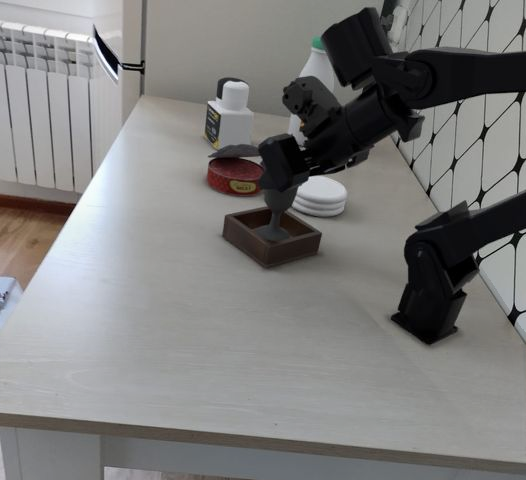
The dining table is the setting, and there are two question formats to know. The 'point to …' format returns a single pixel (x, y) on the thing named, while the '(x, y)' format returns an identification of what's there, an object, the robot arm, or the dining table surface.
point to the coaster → (320, 197)
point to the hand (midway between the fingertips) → (274, 180)
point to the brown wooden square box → (267, 252)
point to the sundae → (276, 212)
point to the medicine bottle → (229, 114)
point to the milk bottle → (319, 69)
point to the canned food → (235, 170)
